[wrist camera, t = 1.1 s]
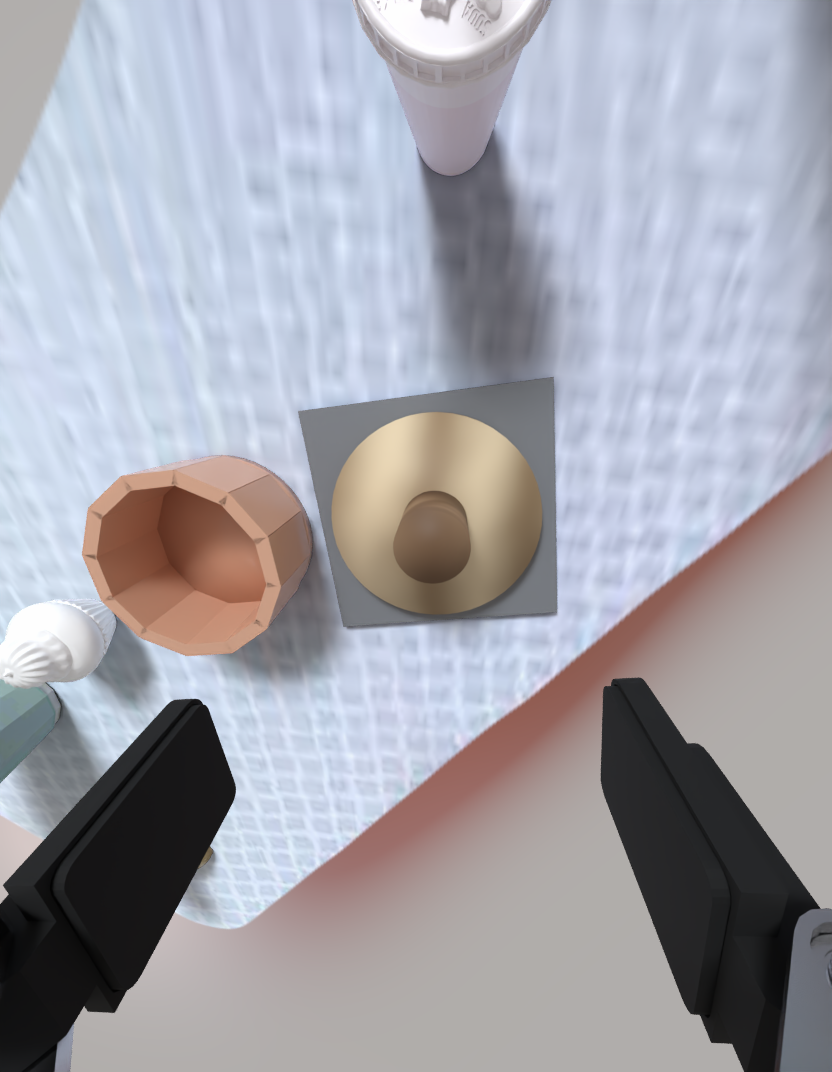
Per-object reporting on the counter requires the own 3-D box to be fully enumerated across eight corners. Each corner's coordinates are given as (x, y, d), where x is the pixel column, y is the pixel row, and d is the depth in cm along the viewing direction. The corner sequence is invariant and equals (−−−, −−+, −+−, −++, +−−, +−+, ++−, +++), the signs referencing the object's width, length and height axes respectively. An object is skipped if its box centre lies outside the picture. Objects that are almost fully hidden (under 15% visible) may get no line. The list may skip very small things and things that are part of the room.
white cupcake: (52, 628, 32) (-51, 689, 26) (66, 567, 30) (-41, 615, 24) (125, 662, 33) (43, 730, 26) (144, 605, 31) (61, 663, 24)
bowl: (292, 445, 26) (248, 460, 20) (326, 599, 29) (297, 649, 24) (135, 465, 27) (52, 484, 21) (186, 610, 31) (126, 659, 25)
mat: (551, 377, 23) (553, 377, 23) (555, 608, 28) (557, 612, 28) (300, 410, 25) (297, 411, 24) (345, 622, 30) (343, 626, 29)
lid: (535, 398, 23) (560, 399, 18) (541, 599, 27) (563, 648, 22) (317, 426, 25) (282, 435, 20) (354, 613, 29) (333, 661, 24)
